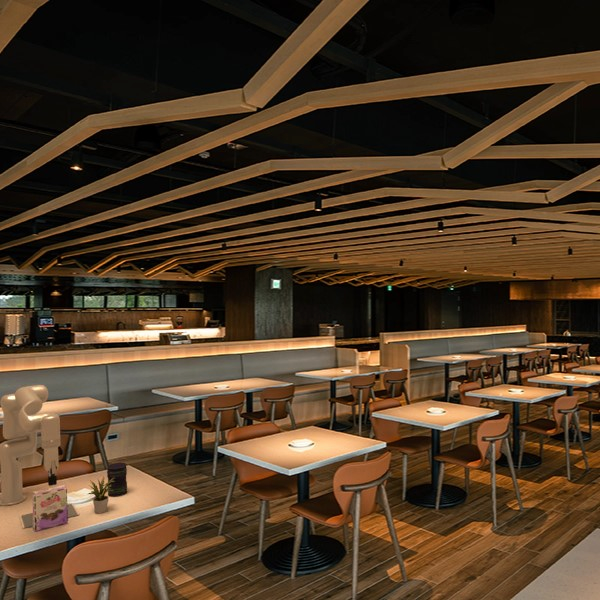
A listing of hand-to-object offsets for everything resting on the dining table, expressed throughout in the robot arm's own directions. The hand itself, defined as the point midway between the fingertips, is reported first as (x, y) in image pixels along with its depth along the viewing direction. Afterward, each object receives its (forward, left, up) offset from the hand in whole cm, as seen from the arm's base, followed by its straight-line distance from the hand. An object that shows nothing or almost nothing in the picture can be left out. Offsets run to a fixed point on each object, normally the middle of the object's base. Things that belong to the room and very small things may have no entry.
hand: (52, 484), depth 223 cm
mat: (-21, +1, -21) cm, 30 cm away
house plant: (-10, +23, -21) cm, 33 cm away
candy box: (-9, 0, -22) cm, 23 cm away
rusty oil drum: (-30, +35, -21) cm, 51 cm away
